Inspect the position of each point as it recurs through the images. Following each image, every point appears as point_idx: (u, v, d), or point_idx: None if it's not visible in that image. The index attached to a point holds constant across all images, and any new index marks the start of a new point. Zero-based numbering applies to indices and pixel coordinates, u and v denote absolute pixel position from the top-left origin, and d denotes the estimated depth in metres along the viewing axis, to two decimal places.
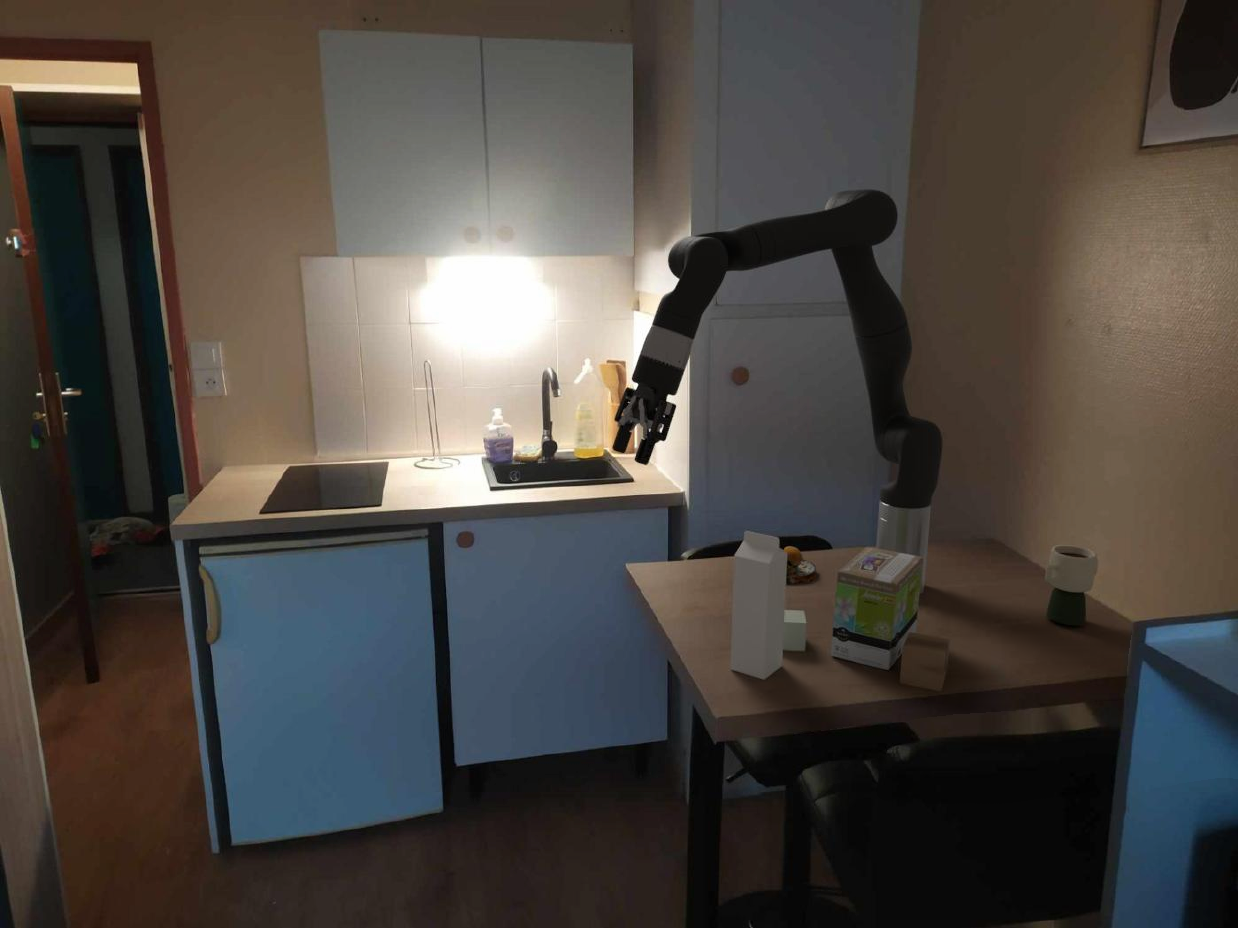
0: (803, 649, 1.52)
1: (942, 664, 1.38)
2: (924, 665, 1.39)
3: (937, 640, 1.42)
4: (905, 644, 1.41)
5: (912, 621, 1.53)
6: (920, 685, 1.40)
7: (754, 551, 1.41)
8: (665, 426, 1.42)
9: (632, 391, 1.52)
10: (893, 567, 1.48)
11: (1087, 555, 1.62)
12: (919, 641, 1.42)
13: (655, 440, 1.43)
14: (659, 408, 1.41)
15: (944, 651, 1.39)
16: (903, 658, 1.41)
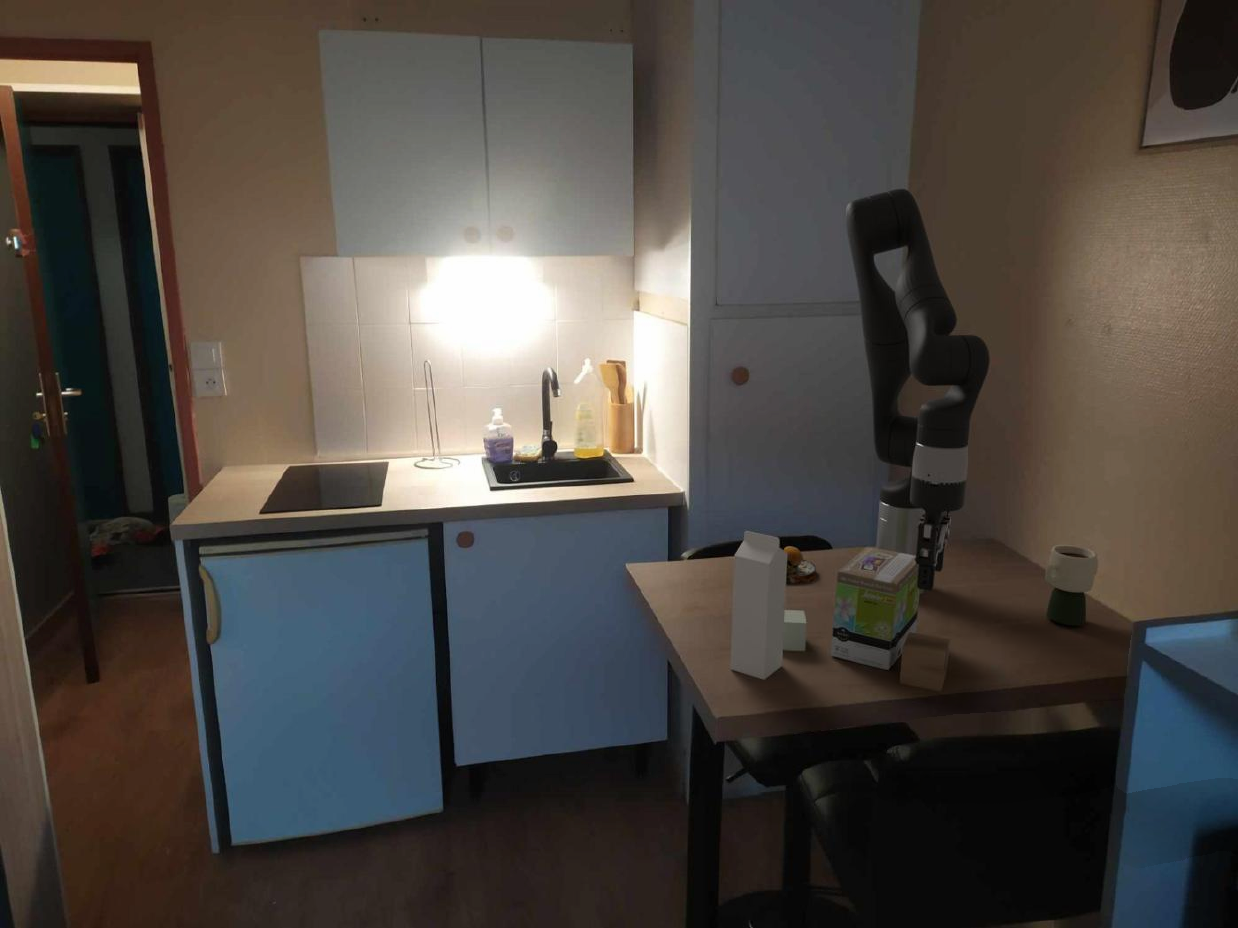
0: (803, 649, 1.52)
1: (942, 664, 1.38)
2: (924, 665, 1.39)
3: (937, 640, 1.42)
4: (905, 644, 1.41)
5: (912, 621, 1.53)
6: (920, 685, 1.40)
7: (754, 551, 1.41)
8: None
9: None
10: (893, 567, 1.48)
11: (1087, 555, 1.62)
12: (919, 641, 1.42)
13: None
14: None
15: (944, 651, 1.39)
16: (903, 658, 1.41)
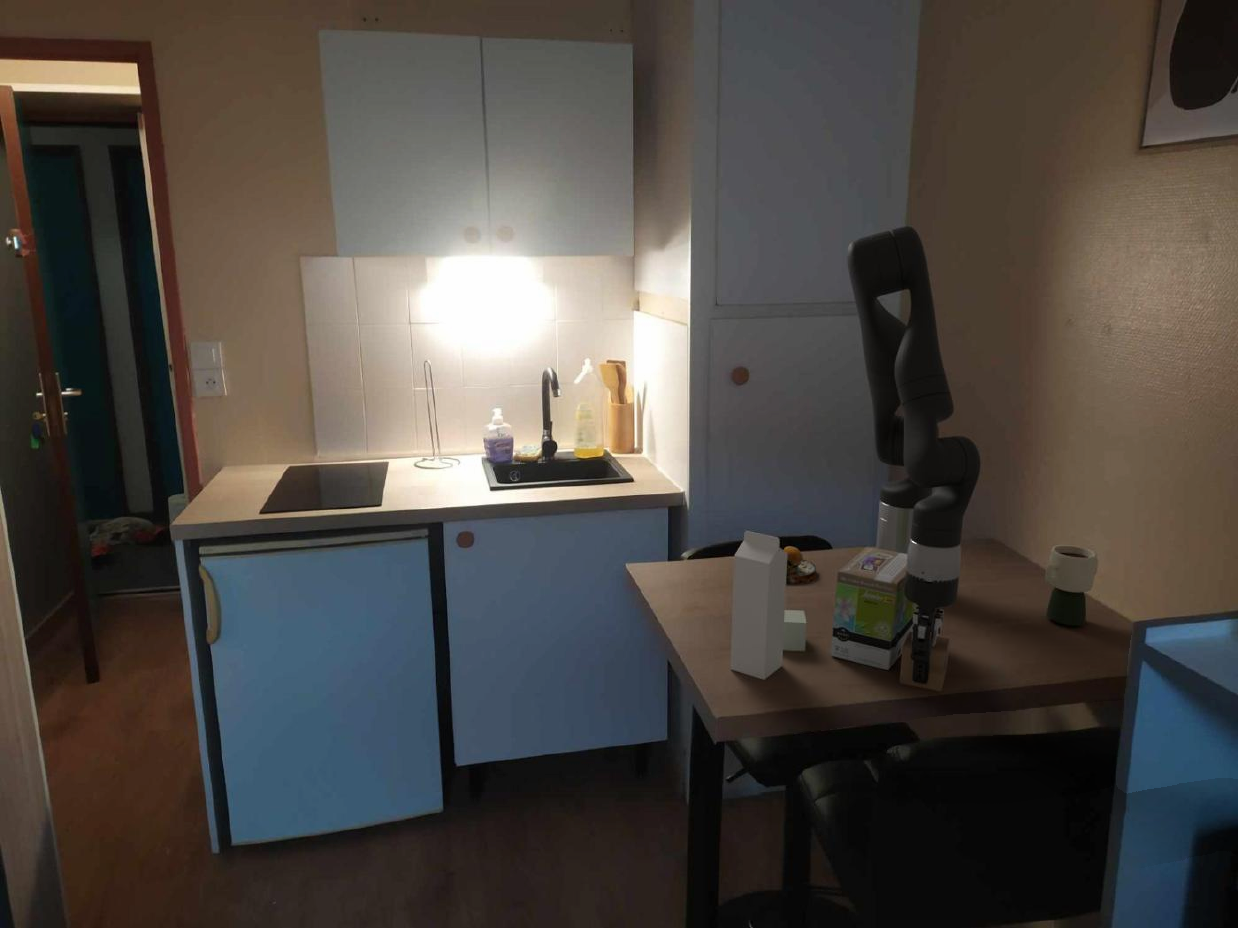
0: (803, 649, 1.52)
1: (942, 663, 1.38)
2: None
3: (937, 639, 1.42)
4: (905, 643, 1.41)
5: (912, 621, 1.53)
6: (920, 684, 1.40)
7: (754, 551, 1.41)
8: None
9: (926, 625, 1.35)
10: (893, 567, 1.48)
11: (1087, 555, 1.62)
12: None
13: None
14: None
15: (944, 650, 1.39)
16: (903, 657, 1.41)
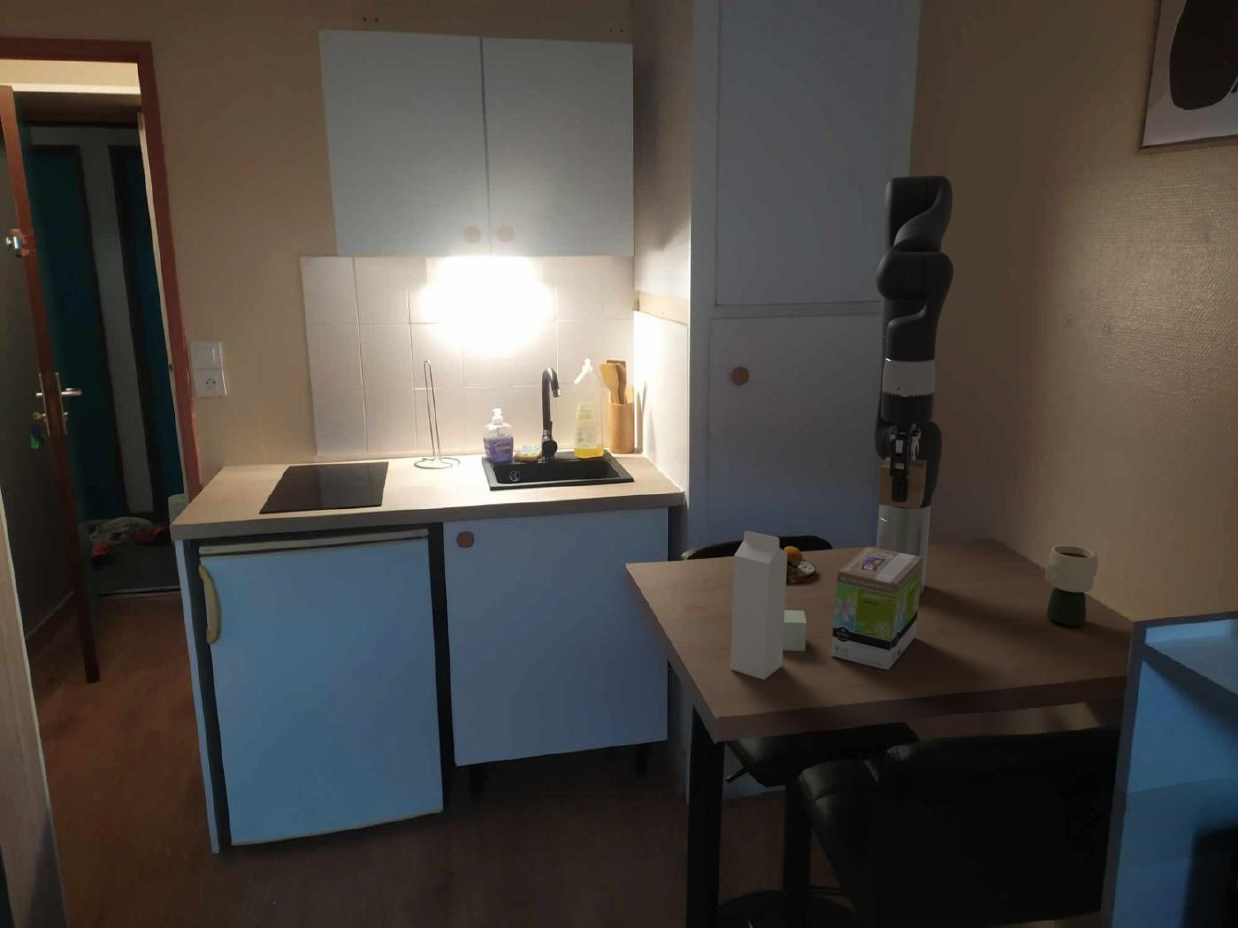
0: (803, 649, 1.52)
1: (920, 480, 1.40)
2: None
3: (914, 461, 1.44)
4: (883, 465, 1.43)
5: (912, 621, 1.53)
6: (899, 504, 1.42)
7: (754, 551, 1.41)
8: None
9: None
10: (893, 567, 1.48)
11: (1087, 555, 1.62)
12: (897, 463, 1.44)
13: None
14: (918, 430, 1.47)
15: (921, 468, 1.41)
16: (881, 478, 1.42)
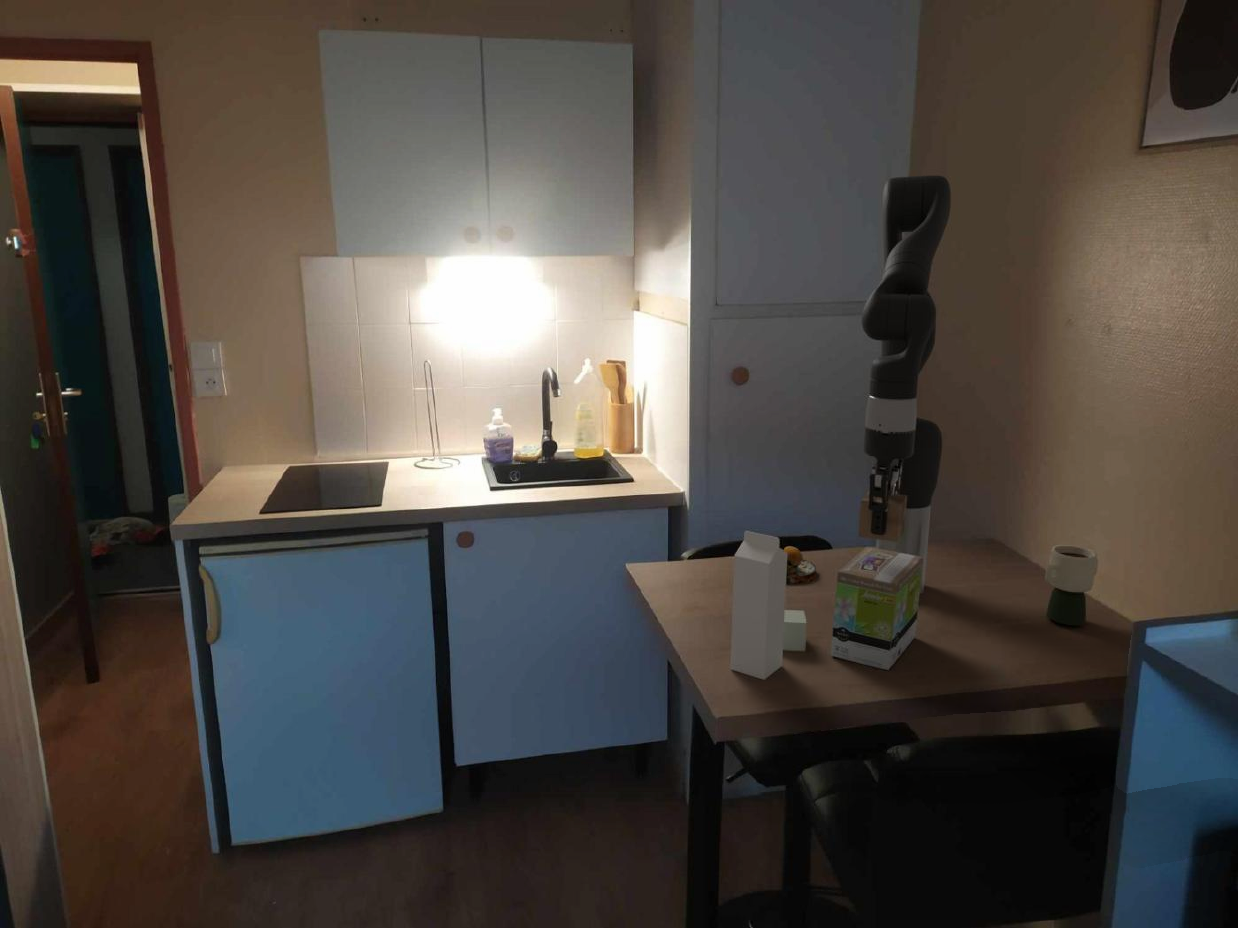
0: (803, 649, 1.52)
1: (898, 514, 1.44)
2: None
3: (895, 496, 1.49)
4: (864, 498, 1.47)
5: (912, 621, 1.53)
6: (878, 537, 1.46)
7: (754, 551, 1.41)
8: None
9: (883, 475, 1.41)
10: (893, 567, 1.48)
11: (1087, 555, 1.62)
12: None
13: None
14: (901, 466, 1.51)
15: (900, 503, 1.45)
16: (861, 511, 1.47)
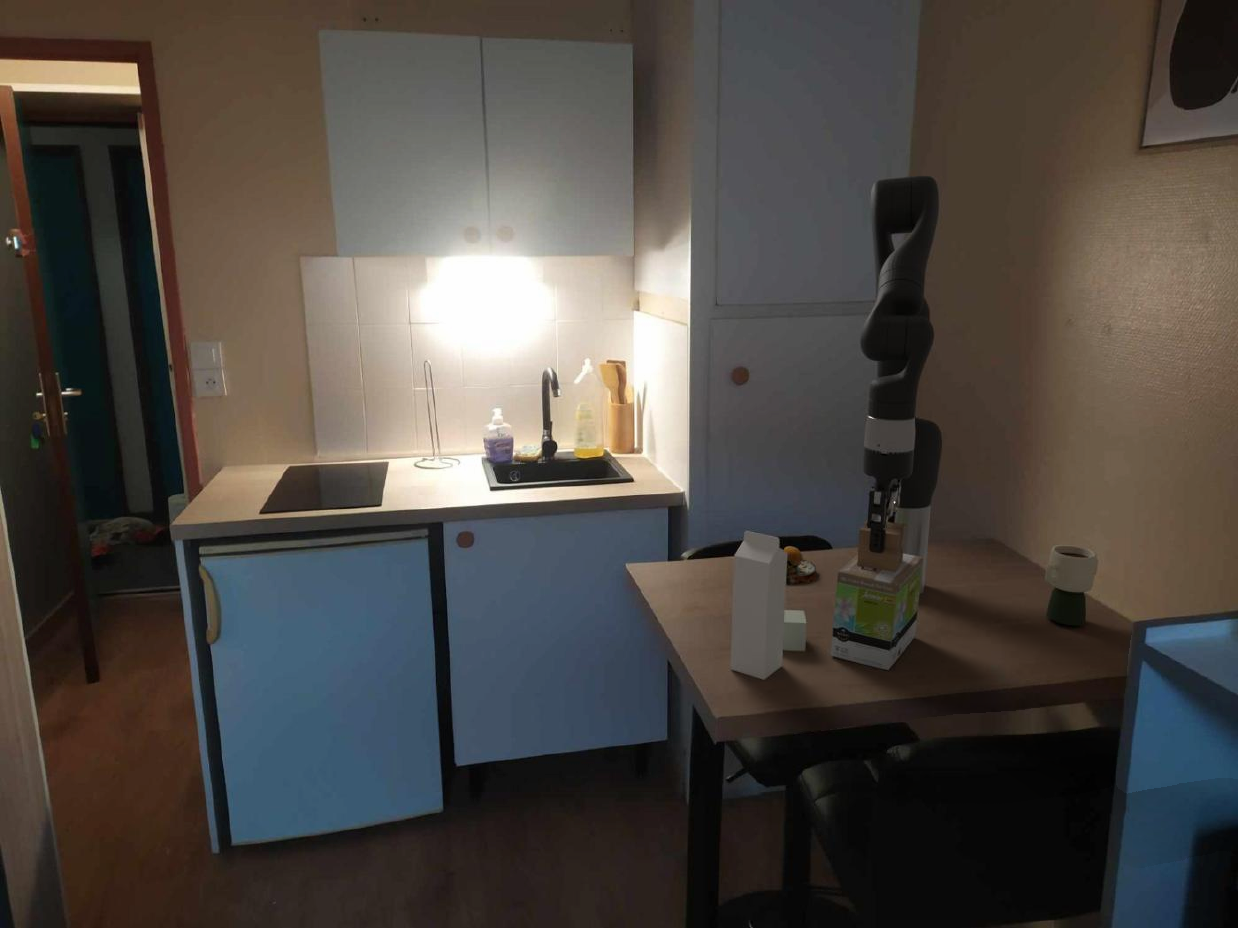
0: (803, 649, 1.52)
1: (896, 544, 1.45)
2: None
3: (893, 525, 1.50)
4: (862, 527, 1.48)
5: (912, 621, 1.53)
6: (876, 566, 1.47)
7: (754, 551, 1.41)
8: None
9: None
10: None
11: (1087, 555, 1.62)
12: None
13: None
14: (900, 481, 1.52)
15: (899, 532, 1.46)
16: (860, 540, 1.48)
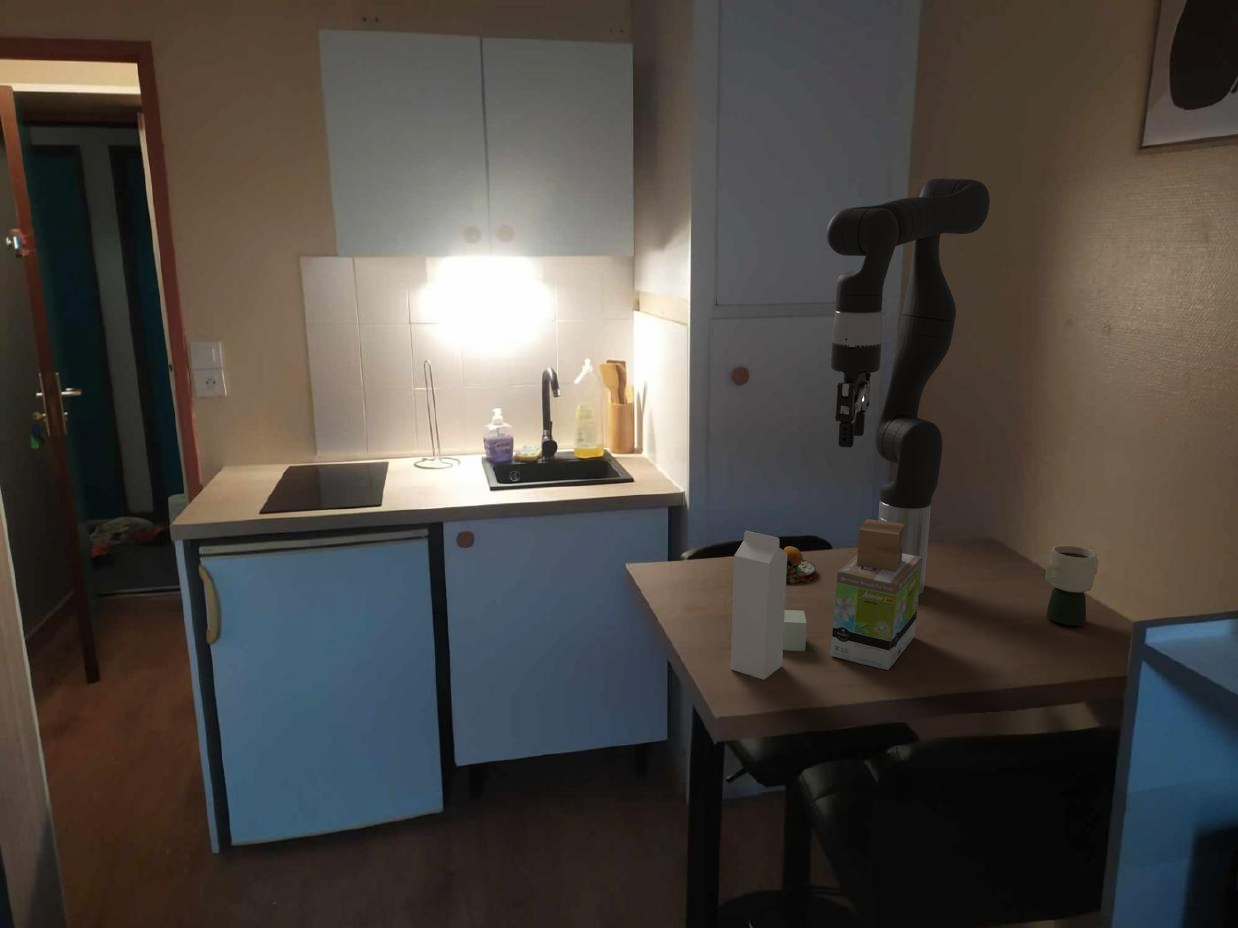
0: (803, 649, 1.52)
1: (896, 544, 1.45)
2: (879, 546, 1.46)
3: (892, 525, 1.50)
4: (862, 527, 1.48)
5: (911, 621, 1.53)
6: (876, 566, 1.47)
7: (754, 551, 1.41)
8: None
9: None
10: None
11: (1087, 555, 1.62)
12: (875, 525, 1.49)
13: None
14: (869, 380, 1.54)
15: (898, 532, 1.46)
16: (860, 540, 1.48)
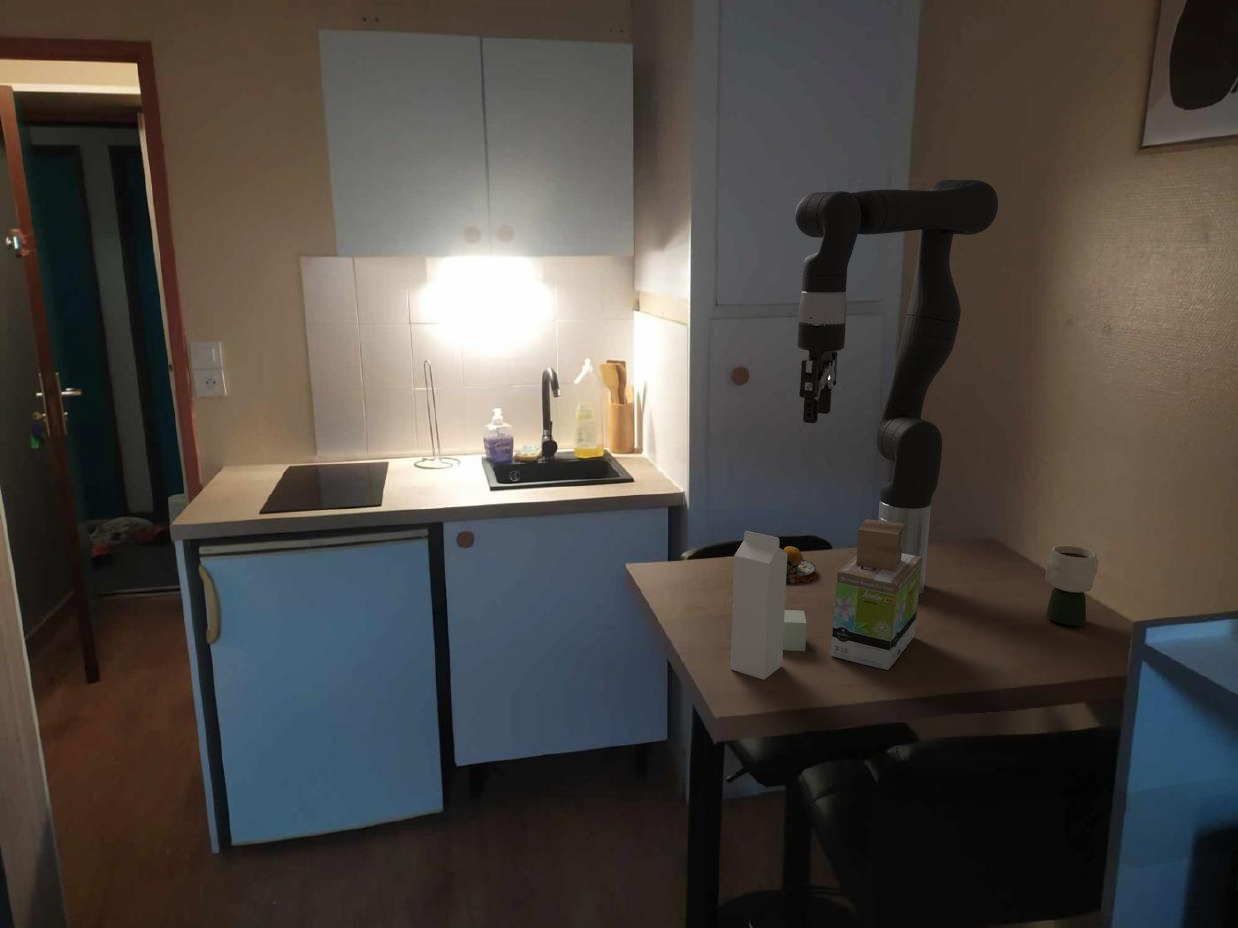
0: (803, 649, 1.52)
1: (896, 544, 1.45)
2: (879, 546, 1.46)
3: (892, 524, 1.50)
4: (861, 527, 1.48)
5: (911, 621, 1.53)
6: (875, 566, 1.47)
7: (754, 551, 1.41)
8: None
9: None
10: None
11: (1087, 555, 1.62)
12: (875, 525, 1.49)
13: None
14: (836, 359, 1.58)
15: (898, 532, 1.46)
16: (859, 540, 1.48)
